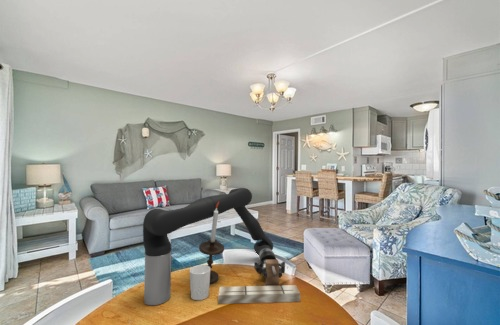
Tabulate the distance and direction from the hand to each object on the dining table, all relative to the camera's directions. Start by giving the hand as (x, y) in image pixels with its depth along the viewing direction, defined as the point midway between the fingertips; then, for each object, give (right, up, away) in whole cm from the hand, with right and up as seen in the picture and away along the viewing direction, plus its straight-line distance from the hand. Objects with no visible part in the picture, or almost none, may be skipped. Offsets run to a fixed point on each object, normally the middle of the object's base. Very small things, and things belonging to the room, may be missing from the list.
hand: (273, 275), depth 88 cm
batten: (-6, -7, -4) cm, 10 cm away
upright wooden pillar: (0, -7, 0) cm, 7 cm away
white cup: (-29, -7, -2) cm, 29 cm away
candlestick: (-28, -7, +11) cm, 31 cm away
